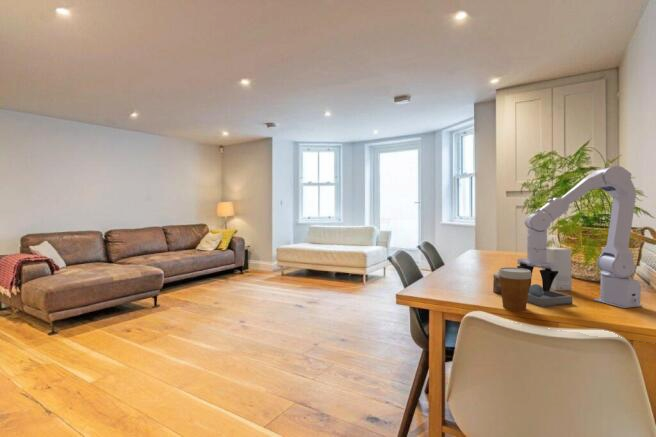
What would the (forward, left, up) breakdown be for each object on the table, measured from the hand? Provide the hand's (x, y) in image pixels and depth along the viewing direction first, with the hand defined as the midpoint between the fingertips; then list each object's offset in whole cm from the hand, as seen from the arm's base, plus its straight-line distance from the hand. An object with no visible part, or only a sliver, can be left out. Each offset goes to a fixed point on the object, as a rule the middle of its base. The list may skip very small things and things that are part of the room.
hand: (536, 288), depth 116 cm
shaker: (+11, +5, -4) cm, 13 cm away
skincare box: (+10, -20, -4) cm, 23 cm away
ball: (0, 0, -3) cm, 3 cm away
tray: (0, 0, -4) cm, 4 cm away
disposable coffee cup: (-6, +15, -4) cm, 17 cm away
